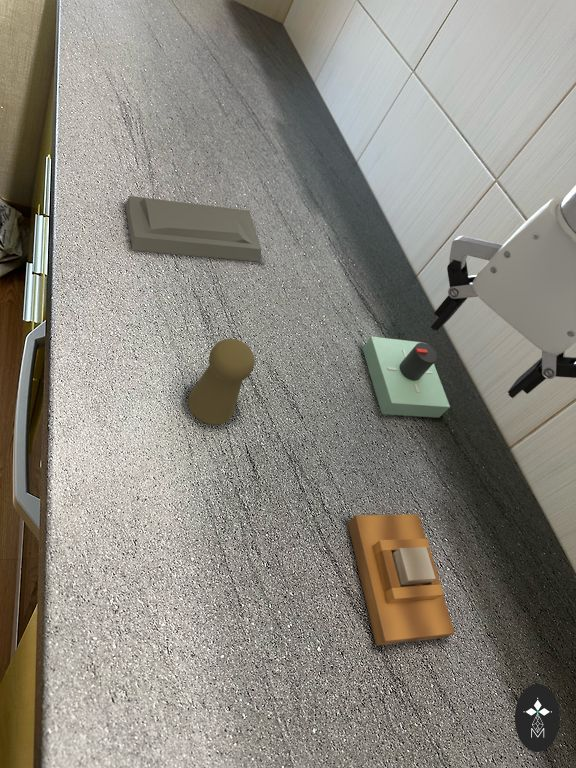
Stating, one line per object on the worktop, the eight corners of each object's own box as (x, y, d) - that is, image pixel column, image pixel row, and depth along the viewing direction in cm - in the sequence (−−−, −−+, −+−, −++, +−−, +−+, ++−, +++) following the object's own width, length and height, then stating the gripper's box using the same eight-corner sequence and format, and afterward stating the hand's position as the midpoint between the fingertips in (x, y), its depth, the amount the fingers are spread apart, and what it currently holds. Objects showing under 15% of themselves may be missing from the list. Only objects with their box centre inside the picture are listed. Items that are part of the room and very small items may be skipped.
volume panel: (416, 354, 92) (426, 342, 90) (439, 417, 86) (451, 406, 83) (362, 348, 88) (371, 335, 86) (381, 414, 82) (392, 402, 79)
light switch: (409, 520, 73) (426, 508, 70) (444, 637, 65) (464, 629, 62) (347, 522, 69) (362, 509, 66) (375, 646, 62) (393, 637, 59)
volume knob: (417, 362, 86) (434, 342, 83) (423, 381, 84) (441, 362, 81) (396, 360, 85) (413, 339, 81) (403, 379, 83) (420, 360, 79)
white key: (418, 552, 66) (426, 546, 65) (427, 583, 64) (436, 578, 63) (391, 553, 65) (399, 547, 64) (400, 585, 63) (408, 580, 62)
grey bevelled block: (259, 261, 92) (266, 245, 89) (132, 250, 83) (135, 231, 80) (246, 218, 97) (252, 201, 94) (124, 203, 88) (128, 184, 86)
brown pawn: (192, 426, 69) (216, 373, 61) (183, 385, 72) (205, 329, 64) (239, 423, 72) (267, 372, 64) (228, 383, 75) (254, 330, 67)
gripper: (711, 277, 45) (557, 397, 57) (536, 143, 48) (426, 285, 60) (698, 314, 40) (532, 436, 53) (504, 163, 43) (392, 313, 56)
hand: (476, 356), depth 57 cm, fingers open, 9 cm apart
